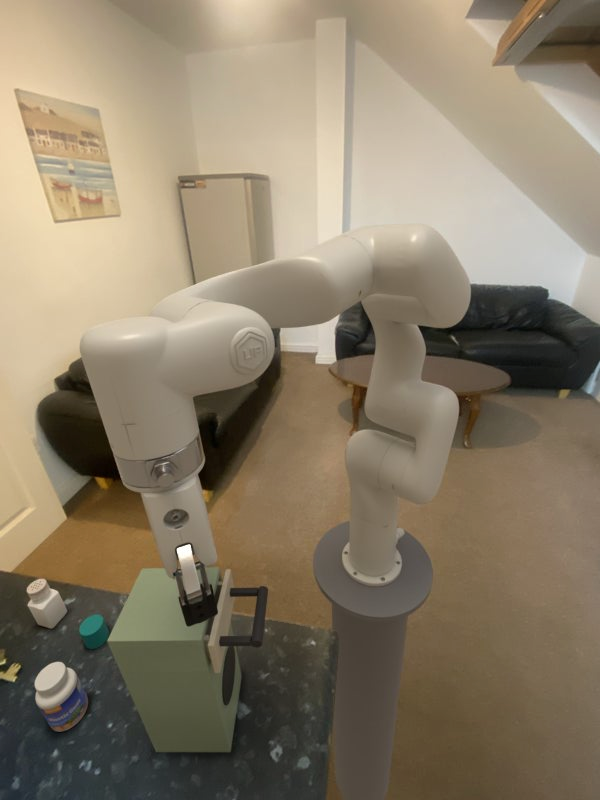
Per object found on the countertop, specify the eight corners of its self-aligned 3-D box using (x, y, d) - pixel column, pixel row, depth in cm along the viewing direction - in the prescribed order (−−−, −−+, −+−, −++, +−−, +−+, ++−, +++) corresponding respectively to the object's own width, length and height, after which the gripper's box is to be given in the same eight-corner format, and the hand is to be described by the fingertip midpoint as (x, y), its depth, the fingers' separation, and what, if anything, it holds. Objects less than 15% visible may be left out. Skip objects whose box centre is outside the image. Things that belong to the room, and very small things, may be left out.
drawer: (271, 594, 54) (267, 568, 51) (263, 673, 44) (258, 645, 42) (161, 596, 54) (153, 570, 52) (130, 674, 45) (119, 646, 43)
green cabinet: (243, 675, 62) (222, 566, 51) (232, 752, 53) (203, 640, 42) (177, 676, 63) (141, 568, 52) (155, 752, 54) (106, 641, 43)
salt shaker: (54, 607, 76) (37, 574, 72) (69, 611, 75) (53, 578, 70) (36, 625, 72) (18, 592, 68) (52, 630, 71) (35, 597, 67)
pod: (104, 623, 72) (99, 610, 70) (112, 638, 69) (106, 624, 68) (82, 638, 69) (76, 624, 68) (89, 654, 67) (82, 640, 65)
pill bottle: (54, 742, 55) (30, 706, 51) (47, 710, 59) (25, 675, 55) (93, 712, 59) (74, 677, 54) (84, 684, 62) (66, 649, 58)
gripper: (223, 497, 28) (248, 635, 36) (187, 408, 43) (211, 520, 50) (117, 530, 26) (168, 672, 33) (117, 424, 40) (153, 539, 48)
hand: (194, 580), depth 42 cm, fingers open, 9 cm apart
